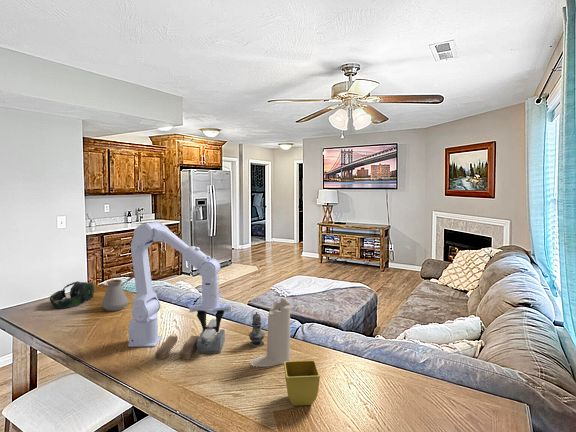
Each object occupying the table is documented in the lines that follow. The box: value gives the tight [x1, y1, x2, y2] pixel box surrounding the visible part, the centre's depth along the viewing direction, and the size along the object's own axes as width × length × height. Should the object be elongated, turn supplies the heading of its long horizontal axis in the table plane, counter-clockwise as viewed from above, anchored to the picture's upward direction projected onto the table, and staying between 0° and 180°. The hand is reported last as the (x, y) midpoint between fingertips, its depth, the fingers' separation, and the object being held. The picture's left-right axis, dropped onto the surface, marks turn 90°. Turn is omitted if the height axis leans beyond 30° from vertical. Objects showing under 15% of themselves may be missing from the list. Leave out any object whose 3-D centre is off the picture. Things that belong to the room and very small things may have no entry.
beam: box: [155, 335, 200, 360], centre depth 127 cm, size 11×14×2 cm
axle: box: [201, 318, 217, 344], centre depth 128 cm, size 12×4×4 cm, turn 1°
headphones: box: [49, 281, 95, 310], centre depth 177 cm, size 13×13×20 cm
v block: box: [196, 328, 226, 354], centre depth 129 cm, size 8×10×4 cm
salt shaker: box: [248, 311, 266, 348], centre depth 131 cm, size 6×6×12 cm
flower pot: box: [283, 359, 321, 407], centre depth 97 cm, size 9×9×9 cm
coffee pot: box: [100, 274, 135, 312], centre depth 173 cm, size 21×12×15 cm, turn 152°
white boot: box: [247, 297, 291, 368], centre depth 118 cm, size 7×14×20 cm, turn 113°
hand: (211, 331), depth 129 cm, fingers closed on axle, 4 cm apart
